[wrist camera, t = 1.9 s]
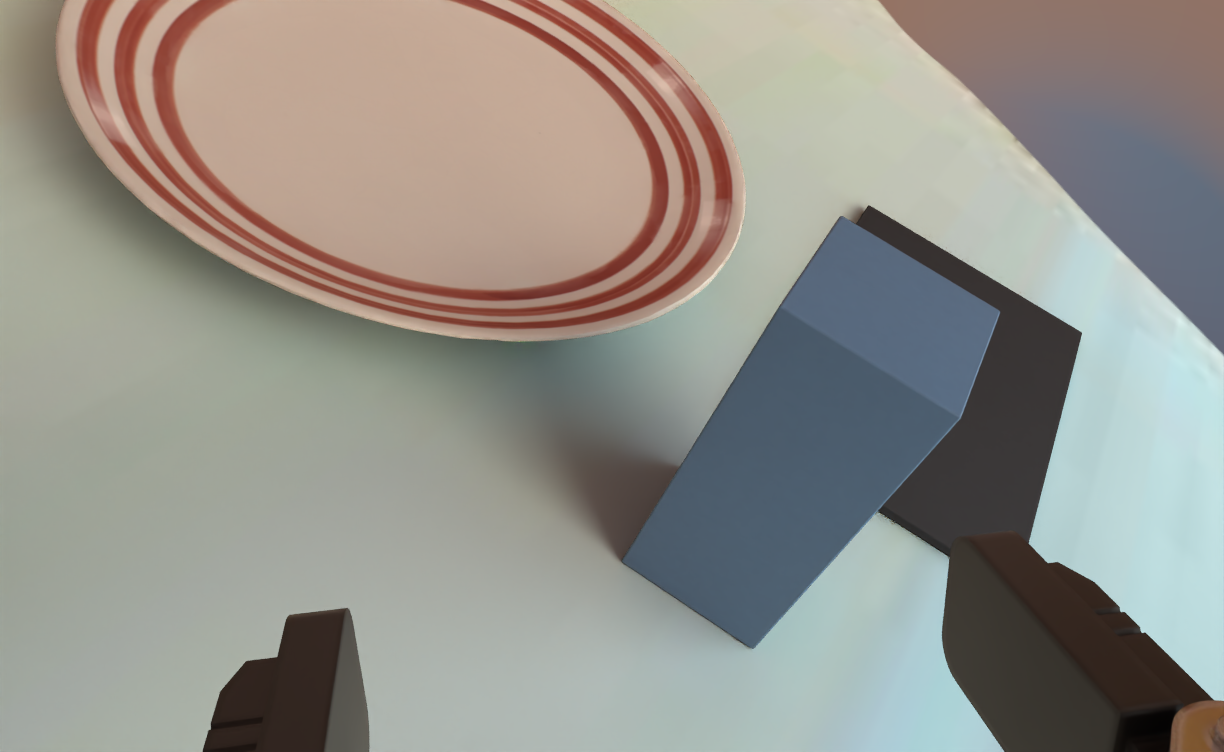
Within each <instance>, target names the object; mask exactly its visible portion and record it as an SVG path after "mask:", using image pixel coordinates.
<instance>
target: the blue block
mask: <svg viewBox="0 0 1224 752" xmlns="http://www.w3.org/2000/svg"><path fill="white" fill-rule="evenodd" d="M999 314H1000V311H999V310H997V309H996V308H994V307H992V306H991V305H989V304H987V303H986V302H984V301H982V300H981V299H979V298H977V297H976V296H974V295H972V294H971V293H969V292H967V291H966V290H964V289H963V288H961V287H959V286H958V285H956V284H954V283H953V282H951V281H949V280H948V279H946V278H944V277H943V276H941V275H939V274H938V273H936V272H934V271H933V270H931V269H929V268H928V267H926V266H924V265H923V264H921V263H919V262H918V261H916V260H914V259H913V258H911V257H909V256H908V255H906V254H904V253H903V252H901V251H899V250H898V249H896V248H894V247H893V246H891V245H889V244H888V243H886V242H884V241H883V240H881V239H879V238H878V237H876V236H874V235H873V234H871V233H870V232H868V231H866V230H865V229H863V228H861V227H860V226H858V225H856V224H855V223H853V222H851V221H850V220H848V219H846V218H845V217H843V216H840V217H839V219H838V220H837V222H836V223H835V224H834V226H833V227H832V229H831V230H830V232H829V233H828V235H827V236H826V238H825V239H824V241H823V242H822V244H821V245H820V247H819V248H818V250H817V251H816V253H815V254H814V256H813V257H812V259H811V260H810V262H809V263H808V264H807V266H806V267H805V269H804V270H803V272H802V273H801V275H800V276H799V278H798V279H797V281H796V282H795V284H794V285H793V287H792V288H791V290H790V291H789V293H788V294H787V296H786V297H785V299H784V300H783V302H782V303H781V304H780V306H779V308H778V309H777V311H776V312H775V314H774V316H773V317H772V319H771V320H770V322H769V324H768V325H767V327H766V329H765V330H764V332H763V333H762V335H761V337H760V338H759V340H758V341H757V343H756V345H755V346H754V348H753V350H752V351H751V353H750V354H749V356H748V358H747V359H746V361H745V362H744V364H743V366H742V367H741V369H740V370H739V372H738V374H737V375H736V377H735V379H734V380H733V382H732V383H731V385H730V387H729V388H728V390H727V391H726V393H725V395H724V396H723V398H722V400H721V401H720V403H719V404H718V406H717V408H716V409H715V411H714V412H713V414H712V416H711V417H710V419H709V421H708V422H707V424H706V425H705V427H704V429H703V430H702V432H701V433H700V435H699V437H698V438H697V440H696V441H695V443H694V445H693V446H692V448H691V450H690V451H689V453H688V454H687V456H686V458H685V459H684V461H683V462H682V464H681V466H680V467H679V469H678V471H677V472H676V474H675V475H674V477H673V479H672V480H671V482H670V483H669V485H668V487H667V488H666V490H665V492H664V493H663V495H662V496H661V498H660V500H659V501H658V503H657V504H656V506H655V508H654V509H653V511H652V512H651V514H650V516H649V517H648V519H647V521H646V522H645V524H644V525H643V527H642V529H641V530H640V532H639V533H638V535H637V537H636V538H635V540H634V542H633V543H632V545H631V546H630V548H629V550H628V551H627V553H626V554H625V556H624V558H623V559H622V562H623V563H624V564H626V565H627V566H629V567H630V568H632V569H633V570H635V571H636V572H638V573H639V574H641V575H642V576H644V577H645V578H647V579H648V580H650V581H651V582H653V583H654V584H656V585H657V586H659V587H660V588H662V589H663V590H665V591H666V592H668V593H669V594H671V595H672V596H674V597H675V598H677V599H678V600H680V601H681V602H683V603H684V604H686V605H687V606H689V607H690V608H692V609H693V610H695V611H696V612H698V613H699V614H701V615H702V616H704V617H705V618H707V619H708V620H710V621H711V622H713V623H714V624H716V625H717V626H719V627H720V628H722V629H723V630H725V631H726V632H728V633H729V634H731V635H732V636H734V637H735V638H737V639H738V640H740V641H741V642H743V643H744V644H746V645H747V646H749V647H750V648H752V649H754V648H755V647H756V646H757V645H758V643H759V642H760V641H761V640H762V639H763V638H764V637H765V636H766V635H767V633H768V632H769V631H770V630H771V629H772V628H773V627H774V626H775V625H776V623H777V622H778V621H779V620H780V619H781V618H782V617H783V616H784V615H785V613H786V612H787V611H788V610H789V609H790V608H791V607H792V606H793V605H794V603H795V602H796V601H797V600H798V599H799V598H800V597H801V596H802V594H803V593H804V592H805V591H806V590H807V589H808V588H809V587H810V586H811V584H812V583H813V582H814V581H815V580H816V579H817V578H818V577H819V576H820V574H821V573H822V572H823V571H824V570H825V569H826V568H827V567H828V566H829V564H830V563H831V562H832V561H833V560H834V559H835V558H836V557H837V556H838V554H839V553H840V552H841V551H842V550H843V549H844V548H845V547H846V546H847V544H848V543H849V542H850V541H851V540H852V539H853V538H854V537H855V536H856V534H857V533H858V532H859V531H860V530H861V529H862V528H863V527H864V525H865V524H866V523H867V522H868V521H869V520H870V519H871V518H872V517H873V515H874V514H875V513H876V512H877V511H878V510H879V509H880V508H881V507H882V505H883V504H884V503H885V502H886V501H887V500H888V499H889V498H890V497H891V495H892V494H893V493H894V492H895V491H896V490H897V489H898V488H899V487H900V485H901V484H902V483H903V482H904V481H905V480H906V479H907V478H908V477H909V475H910V474H911V473H912V472H913V471H914V470H915V469H916V468H917V467H918V465H919V464H920V463H921V462H922V461H923V460H924V459H925V458H926V457H927V455H928V454H929V453H930V452H931V451H932V450H933V449H934V448H935V446H936V445H937V444H938V443H939V442H940V441H941V440H942V439H943V438H944V436H945V435H946V434H947V433H948V432H949V431H950V430H951V429H952V428H953V426H954V425H955V424H956V423H957V422H958V421H959V420H960V419H961V416H962V414H963V411H964V408H965V406H966V403H967V400H968V397H969V395H970V392H971V389H972V387H973V384H974V381H975V379H976V376H977V373H978V371H979V368H980V365H981V363H982V360H983V357H984V354H985V352H986V349H987V346H988V344H989V341H990V338H991V336H992V333H993V330H994V328H995V325H996V322H997V320H998V317H999Z"/></svg>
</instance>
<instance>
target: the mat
mask: <svg viewBox="0 0 1224 752" xmlns="http://www.w3.org/2000/svg"><path fill="white" fill-rule="evenodd" d="M856 225H858V226H860V227H861V228H863V229H865V230H866V231H868V232H870V233H871V234H873V235H874V236H876V237H878V238H879V239H881V240H883V241H884V242H886V243H888V244H889V245H891V246H893V247H894V248H896V249H898V250H899V251H901V252H903V253H904V254H906V255H908V256H909V257H911V258H913V259H914V260H916V261H918V262H919V263H921V264H923V265H924V266H926V267H928V268H929V269H931V270H933V271H934V272H936V273H938V274H939V275H941V276H943V277H944V278H946V279H948V280H949V281H951V282H953V283H954V284H956V285H958V286H959V287H961V288H963V289H964V290H966V291H967V292H969V293H971V294H972V295H974V296H976V297H977V298H979V299H981V300H982V301H984V302H986V303H987V304H989V305H991V306H992V307H994V308H996V309H997V310H999V311H1000V314H999V317H998V320H997V322H996V325H995V328H994V330H993V333H992V336H991V338H990V341H989V344H988V346H987V349H986V352H985V354H984V357H983V360H982V363H981V365H980V368H979V371H978V373H977V376H976V379H975V381H974V384H973V387H972V389H971V392H970V395H969V397H968V400H967V403H966V406H965V408H964V411H963V414H962V416H961V419H960V420H959V421H958V422H957V423H956V424H955V425H954V426H953V428H952V429H951V430H950V431H949V432H948V433H947V434H946V435H945V436H944V438H943V439H942V440H941V441H940V442H939V443H938V444H937V445H936V446H935V448H934V449H933V450H932V451H931V452H930V453H929V454H928V455H927V457H926V458H925V459H924V460H923V461H922V462H921V463H920V464H919V465H918V467H917V468H916V469H915V470H914V471H913V472H912V473H911V474H910V475H909V477H908V478H907V479H906V480H905V481H904V482H903V483H902V484H901V485H900V487H899V488H898V489H897V490H896V491H895V492H894V493H893V494H892V495H891V497H890V498H889V499H888V500H887V501H886V502H885V503H884V504H883V505H882V507H881V508H880V509H879V510H878V511H879V512H881V513H883V514H884V515H886V516H887V517H889V518H890V519H892V520H894V521H895V522H897V523H898V524H900V525H901V526H903V527H905V528H906V529H908V530H909V531H911V532H912V533H914V534H915V535H917V536H919V537H920V538H922V539H923V540H925V541H926V542H928V543H930V544H931V545H933V546H934V547H936V548H937V549H939V550H941V551H942V552H944V553H945V554H947V555H948V556H950V551H951V547H952V544H953V542H954V540H955V539H956V538H957V537H960V536H968V535H976V534H985V533H993V532H1001V531H1010V530H1011V531H1015V532H1017V533H1018V534H1019V535H1021V536H1022V537H1023V538H1024V539H1025V541H1026V542H1027V543H1029V539H1030V535H1031V531H1032V527H1033V523H1034V519H1035V516H1036V512H1037V508H1038V504H1039V500H1040V496H1041V492H1042V488H1043V484H1044V480H1045V476H1046V472H1047V469H1048V465H1049V461H1050V457H1051V453H1052V449H1053V445H1054V441H1055V437H1056V433H1057V429H1058V425H1059V422H1060V418H1061V414H1062V410H1063V406H1064V402H1065V398H1066V394H1067V390H1068V386H1069V382H1070V378H1071V374H1072V371H1073V367H1074V363H1075V359H1076V355H1077V351H1078V347H1079V343H1080V339H1081V335H1082V332H1080V331H1078V330H1077V329H1075V328H1073V327H1072V326H1070V325H1068V324H1067V323H1065V322H1063V321H1062V320H1060V319H1058V318H1057V317H1055V316H1053V315H1052V314H1050V313H1048V312H1047V311H1045V310H1043V309H1042V308H1040V307H1038V306H1037V305H1035V304H1033V303H1032V302H1030V301H1028V300H1027V299H1025V298H1023V297H1022V296H1020V295H1018V294H1016V293H1015V292H1013V291H1011V290H1010V289H1008V288H1006V287H1005V286H1003V285H1001V284H1000V283H998V282H996V281H995V280H993V279H991V278H990V277H988V276H986V275H985V274H983V273H981V272H980V271H978V270H976V269H975V268H973V267H971V266H970V265H968V264H966V263H965V262H963V261H961V260H960V259H958V258H956V257H955V256H953V255H951V254H950V253H948V252H946V251H945V250H943V249H941V248H940V247H938V246H936V245H935V244H933V243H931V242H930V241H928V240H926V239H925V238H923V237H921V236H920V235H918V234H916V233H915V232H913V231H911V230H910V229H908V228H906V227H905V226H903V225H901V224H900V223H898V222H896V221H895V220H893V219H891V218H890V217H888V216H886V215H885V214H883V213H881V212H880V211H878V210H876V209H874V208H873V207H871V206H868V207H867V208H866V210H865V211H864V213H863V214H862V216H861V218H860V219H859V221H858V222H857V224H856Z"/></svg>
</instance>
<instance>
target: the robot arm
mask: <svg viewBox="0 0 1224 752" xmlns="http://www.w3.org/2000/svg"><path fill="white" fill-rule="evenodd" d="M942 641H943V649H944V654H945V658H946V661H947V664H948V667H949V669H950V672H951V674H952V676H953V677H954V679H955V681H956V682H957V684H958V685H959V686H960V688H961V689H962V691H963V692H964V694H965V695H966V697H967V698H968V699H969V701H970V702H971V704H972V705H973V707H974V708H975V710H976V711H977V712H978V714H979V715H980V717H981V718H982V720H983V721H984V723H985V724H986V725H987V727H988V728H989V730H990V731H991V733H992V734H993V736H994V737H995V739H996V740H997V741H998V743H999V744H1000V746H1001V747H1002V749H1003V750H1004V752H1224V701H1214V700H1213V699H1212V698H1211V697H1210V696H1209V695H1208V694H1207V693H1206V692H1205V691H1204V690H1203V689H1202V688H1201V687H1200V686H1199V685H1198V684H1197V683H1196V682H1195V681H1194V680H1193V679H1192V678H1191V677H1190V676H1189V675H1188V674H1187V673H1186V672H1185V671H1184V670H1183V669H1182V668H1181V667H1180V666H1179V665H1178V664H1177V663H1176V662H1175V661H1174V660H1173V659H1172V658H1171V657H1170V656H1169V655H1168V654H1167V653H1166V652H1165V651H1164V650H1163V649H1162V648H1161V647H1160V646H1158V645H1157V644H1156V643H1155V642H1154V641H1153V640H1152V639H1151V638H1150V637H1149V636H1148V635H1147V634H1146V633H1141V631H1140V627H1139V626H1138V625H1137V624H1136V623H1135V622H1134V621H1133V620H1132V619H1131V618H1130V617H1129V616H1128V615H1127V614H1126V613H1125V612H1120V607H1119V606H1118V605H1117V604H1116V603H1115V602H1114V601H1113V600H1112V599H1111V598H1110V597H1109V596H1108V595H1107V594H1106V593H1105V592H1104V591H1103V590H1102V589H1101V588H1100V587H1099V586H1098V585H1097V584H1096V583H1095V582H1093V581H1091V580H1089V579H1088V578H1086V577H1084V576H1082V575H1080V574H1078V573H1077V572H1075V571H1073V570H1071V569H1069V568H1068V567H1066V566H1064V565H1062V564H1060V563H1058V562H1055V563H1047V562H1046V561H1045V560H1044V559H1043V558H1042V557H1041V556H1040V555H1039V554H1038V553H1037V552H1036V551H1035V550H1034V549H1033V548H1032V547H1031V546H1030V545H1029V544H1028V543H1027V542H1026V541H1025V539H1024V538H1023V537H1022V536H1021V535H1019V534H1018V533H1017V532H1015V531H1011V530H1010V531H1001V532H993V533H985V534H976V535H968V536H960V537H957V538H956V539H955V540H954V542H953V544H952V547H951V551H950V559H949V569H948V579H947V588H946V598H945V608H944V617H943V627H942ZM203 752H369V721H368V711H367V703H366V697H365V691H364V685H363V679H362V673H361V667H360V661H359V655H358V650H357V644H356V638H355V632H354V626H353V620H352V616H351V613H350V610H349V609H348V608H344V609H335V610H327V611H318V612H310V613H302V614H293V615H289V616H288V617H287V619H286V622H285V627H284V631H283V635H282V639H281V644H280V648H279V652H278V657H276V658H268V659H260V660H252V661H246V662H245V663H244V664H243V666H242V667H241V668H240V669H239V670H238V671H237V673H236V674H235V675H234V676H233V677H232V678H231V680H230V681H229V682H228V683H227V684H226V685H225V687H224V688H223V689H222V690H221V691H220V694H219V698H218V701H217V704H216V708H215V711H214V714H213V718H212V721H211V730H209V731H208V735H207V738H206V741H205V745H204V748H203Z"/></svg>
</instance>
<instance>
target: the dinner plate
mask: <svg viewBox="0 0 1224 752" xmlns="http://www.w3.org/2000/svg"><path fill="white" fill-rule="evenodd" d="M55 47H56V64H57V71H58V77H59V81H60V84H61V87H62V90H63V94H64V97H65V100H66V102H67V104H68V107H69V109H70V111H71V113H72V115H73V117H74V119H75V121H76V123H77V124H78V126H79V128H80V130H81V131H82V133H83V135H84V137H85V138H86V140H87V142H88V143H89V145H90V146H91V147H92V149H93V150H94V152H95V153H96V154H97V156H98V157H99V158H100V159H101V161H102V162H103V163H104V164H105V165H106V167H107V168H108V169H109V170H110V171H111V173H112V174H113V175H114V176H115V177H116V178H117V179H118V180H119V181H120V182H121V183H122V184H123V185H124V186H125V187H126V188H127V189H128V190H129V191H130V192H131V193H132V194H133V195H134V196H136V197H137V198H138V199H139V200H140V201H141V202H142V203H143V204H144V205H145V206H146V207H147V208H148V209H150V210H151V211H152V212H153V213H155V214H156V215H157V216H159V217H160V218H161V219H163V220H164V221H165V222H166V223H168V224H169V225H171V226H172V227H173V228H175V229H176V230H177V231H179V232H180V233H182V234H183V235H184V236H186V237H187V238H189V239H190V240H191V241H193V242H195V243H196V244H198V245H199V246H201V247H203V248H204V249H206V250H207V251H209V252H211V253H212V254H214V255H216V256H218V257H219V258H221V259H223V260H225V261H227V262H228V263H230V264H232V265H234V266H236V267H237V268H239V269H241V270H243V271H245V272H246V273H248V274H251V275H253V276H255V277H257V278H259V279H261V280H264V281H266V282H268V283H270V284H272V285H275V286H277V287H279V288H281V289H283V290H285V291H288V292H290V293H292V294H295V295H298V296H300V297H303V298H306V299H308V300H311V301H314V302H316V303H319V304H321V305H324V306H327V307H330V308H333V309H336V310H339V311H342V312H346V313H349V314H352V315H355V316H358V317H362V318H365V319H368V320H372V321H376V322H380V323H384V324H388V325H392V326H396V327H400V328H404V329H410V330H415V331H421V332H426V333H432V334H438V335H445V336H451V337H458V338H468V339H484V340H500V341H550V340H561V339H573V338H583V337H590V336H595V335H601V334H607V333H610V332H615V331H619V330H622V329H626V328H630V327H633V326H636V325H639V324H643V323H646V322H649V321H651V320H653V319H655V318H658V317H660V316H662V315H664V314H666V313H668V312H670V311H672V310H673V309H675V308H677V307H679V306H680V305H682V304H683V303H685V302H687V301H688V300H689V299H690V298H692V297H693V296H694V295H696V294H697V293H699V292H700V291H702V290H703V289H704V288H705V287H706V286H707V285H708V284H709V283H710V282H711V281H712V280H713V279H714V278H715V276H716V275H717V274H718V272H719V271H720V270H721V269H722V267H723V266H724V265H725V263H726V262H727V260H728V259H729V257H730V255H731V254H732V252H733V250H734V248H735V246H736V244H737V242H738V239H739V236H740V233H741V230H742V226H743V221H744V214H745V202H746V190H745V180H744V174H743V170H742V166H741V162H740V158H739V155H738V153H737V150H736V147H735V145H734V142H733V139H732V137H731V135H730V133H729V131H728V129H727V127H726V125H725V123H724V121H723V119H722V118H721V116H720V115H719V113H718V111H717V110H716V108H715V107H714V105H713V104H712V102H711V101H710V99H709V98H708V96H707V95H706V94H705V93H704V91H703V90H702V89H701V88H700V86H699V85H698V84H697V82H696V81H695V80H694V79H693V77H692V76H691V75H690V74H689V73H688V72H687V71H686V70H685V69H684V67H683V66H682V65H681V64H680V63H679V62H678V61H677V60H676V59H675V58H674V57H673V56H672V55H671V54H670V53H669V52H668V51H667V50H666V49H664V48H663V47H662V46H661V45H660V44H659V43H658V42H657V41H655V40H654V39H653V38H652V37H651V36H650V35H649V34H648V33H646V32H645V31H644V30H643V29H642V28H640V27H639V26H638V25H636V24H635V23H634V22H632V21H631V20H630V19H628V18H627V17H626V16H624V15H623V14H622V13H620V12H619V11H618V10H616V9H615V8H613V7H612V6H610V5H609V4H607V3H606V2H604V1H603V0H65V1H64V4H63V7H62V10H61V13H60V15H59V20H58V24H57V28H56V43H55Z"/></svg>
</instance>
